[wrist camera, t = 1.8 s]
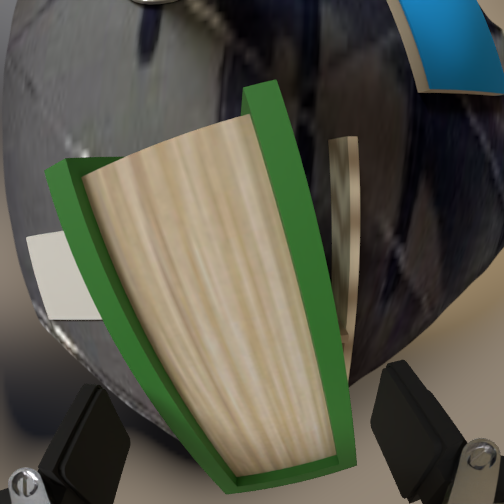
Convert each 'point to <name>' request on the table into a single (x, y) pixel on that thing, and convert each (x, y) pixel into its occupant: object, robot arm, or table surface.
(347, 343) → the rack
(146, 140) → the table surface
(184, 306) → the hardback book
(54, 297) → the mat
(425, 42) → the book
